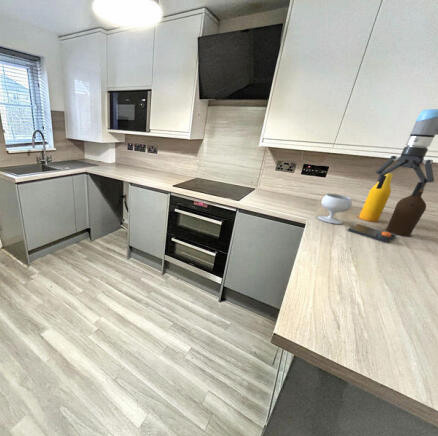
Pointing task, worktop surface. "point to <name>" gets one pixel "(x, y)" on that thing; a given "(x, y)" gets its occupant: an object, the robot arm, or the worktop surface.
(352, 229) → the scale
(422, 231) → the worktop surface
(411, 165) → the robot arm
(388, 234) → the tare button
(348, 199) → the chalice
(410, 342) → the worktop surface
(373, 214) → the beer bottle
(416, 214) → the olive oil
